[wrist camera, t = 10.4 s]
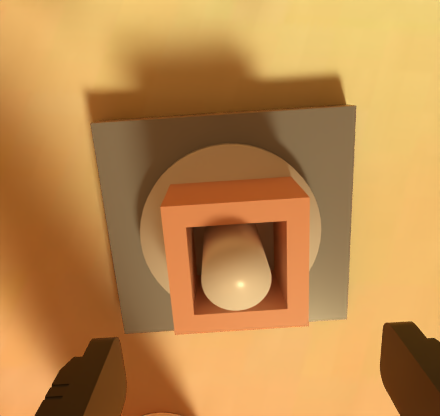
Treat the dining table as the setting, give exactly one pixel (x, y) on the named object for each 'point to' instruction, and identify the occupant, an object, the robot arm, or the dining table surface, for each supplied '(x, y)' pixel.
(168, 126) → the post plate
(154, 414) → the cylindrical container
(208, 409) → the dining table surface
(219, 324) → the collar
